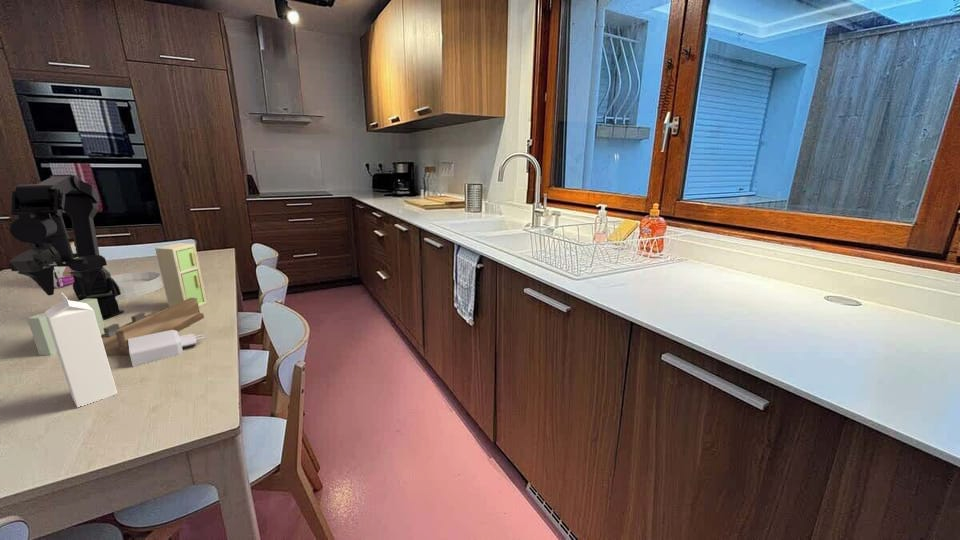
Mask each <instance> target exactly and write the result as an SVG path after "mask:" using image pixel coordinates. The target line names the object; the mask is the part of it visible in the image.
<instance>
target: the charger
mask: <svg viewBox="0 0 960 540" xmlns="http://www.w3.org/2000/svg"><path fill="white" fill-rule="evenodd" d="M204 339H206V336H205V334H198V335H196V334H195V333H188V334H183V335H179V331H175V330H169V331H164V332H159V333H154V334H149V335H144V336H140V337H135V338H130V339H128V344H129V352H130V355H129V357H130V360H131V364H132V368H135V367H139V366H143V365H145V363H147V364H150V363H149V362H151V363H154V362H153V361H155V362H157V360H159V361H162V360H166V359H169V358H168V357H170V358H173V357H172V356H174V357H177V356H176V355H178V356H180V355H181V353H182V354H183V353H184V350H183V349H184V348H186V347H189V346H190V347H191V346H194V345H197V344H198V342H197V341H199V340H204ZM179 354H180V355H179ZM165 358H166V359H165ZM161 359H162V360H161ZM142 364H143V365H142ZM138 365H139V366H138ZM134 366H135V367H134Z"/></svg>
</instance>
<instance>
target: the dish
mask: <svg viewBox="0 0 960 540" xmlns="http://www.w3.org/2000/svg"><path fill="white" fill-rule="evenodd" d="M111 278H113V280H114V281H115V282H116V283H117V285H118V286H119V289H120V292H121V295H118V296H116V297H115V299H116V300H117V302H120V301H119V300H122V301H126V300H125V299H128V300H131V299H130V298H133V299H135V298H134V297H138V296H141V295H145V294H148V293H151V292H154V291H156V290H159V289H160V288H162V287H163V288H164V283H163V280H162V276H161V274H160V273H159V272H154V271H153V272H152V271H139V272H128V273H127V272H126V273H121V274H120V273H119V274H114V275H111ZM163 288H162V289H163ZM159 291H160V290H159ZM145 296H146V295H145ZM138 298H139V297H138Z"/></svg>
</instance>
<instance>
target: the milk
mask: <svg viewBox="0 0 960 540" xmlns="http://www.w3.org/2000/svg"><path fill="white" fill-rule="evenodd" d="M61 297H62V300H61V301H59V302H58V303H56V304H54V305H53V306H51V307H49V308H48V309H47V310H45V311H44V312H43V313H45V316H46V319H47V323H48V326H49V329H50V332H51V335H52V338H53V341H54V344H55V347H56V350H57V353H56V354H57V355H58V359H59V362H60V365H61V368H62V372H63V374H64V377H65V380H66V383H67V386H68V389H69V392H70V396H71V398H72V400H73V402H74V404H75V405H76V407H77V408H78V407H80V406H82V407H85V406H87V404H88V405H91V404H94V403H96V401H97V402H100V401H102V400H105V399H108V398H110V397H113V395H114V396H116V394H117V395H118V391H117V387H116V383H115V380H114V377H113V373H112V370H111V366H110V363H109V359H108V356H107V355H106V352H105V348H104V345H103V341H102V338H101V335H102V334H100V331H99V328H98V324H97V321H96V317H95V314H94V310H93V309H92V308H91V307H90V306H89V305H88V304H87V303H82V302H78V301H76V300H75V301H74V300H69V299H68V297H67V296H66V295H65V294H64V293H63V292H61ZM101 399H102V400H101ZM99 400H100V401H99ZM93 402H94V403H93ZM90 403H91V404H90ZM84 405H85V406H84ZM80 408H81V407H80Z"/></svg>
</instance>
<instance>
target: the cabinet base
mask: <svg viewBox="0 0 960 540" xmlns="http://www.w3.org/2000/svg"><path fill="white" fill-rule="evenodd" d="M204 316H205V315H204V313H202V312H200V307H199V306H198V301H197V298H189V299H187V300H184V301H182V302H180V303H178V304H175V305H173V306H171V307H169V306H168V307H166V308H165V309H162V310H160V311H156V312H154V311H153V312H150V313H148V314H145V312H140V313H136V314H135V315H132V316H130V318H131V321H130V322H127V323H126V324H124V325H121V326H120V325H119V323H113V324H111V325H108V326H105V328H103V329H104V333H102V334H100V335H101V338H102V341H103V345H104V348H105V352H106V355H113V356H116V355H117V356H130V352H129V344H128V339H130V338H135V337H140V336H144V335H149V334H154V333H159V332H164V331H169V330H175V331H178V332H180V331H182V330H183V329H186V328H187V327H190V326H191V325H193V324H195V323H197V322H198V321H201V320H202V319H204V318H205V317H204Z"/></svg>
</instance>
